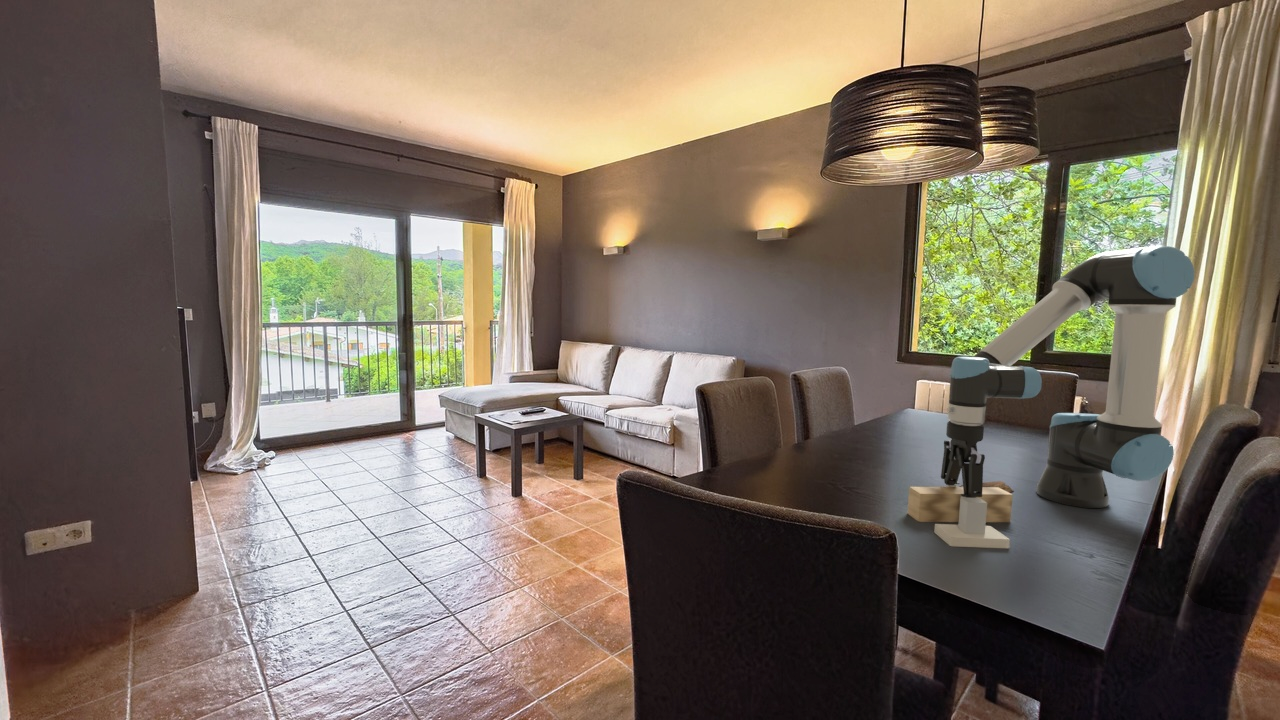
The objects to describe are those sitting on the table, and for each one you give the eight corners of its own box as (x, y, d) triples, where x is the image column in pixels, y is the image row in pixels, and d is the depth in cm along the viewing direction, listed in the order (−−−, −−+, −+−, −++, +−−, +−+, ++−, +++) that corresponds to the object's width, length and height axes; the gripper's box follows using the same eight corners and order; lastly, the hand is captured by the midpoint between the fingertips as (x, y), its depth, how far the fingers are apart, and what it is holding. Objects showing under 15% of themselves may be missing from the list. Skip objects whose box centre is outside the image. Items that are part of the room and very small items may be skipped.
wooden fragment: (984, 507, 139) (984, 503, 139) (940, 494, 148) (940, 490, 148) (1027, 489, 154) (1028, 485, 153) (985, 479, 163) (985, 475, 162)
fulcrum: (989, 534, 121) (992, 495, 121) (1009, 548, 115) (1012, 507, 114) (934, 532, 122) (937, 493, 121) (950, 546, 115) (953, 505, 114)
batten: (995, 515, 134) (998, 487, 133) (1010, 523, 129) (1012, 494, 128) (907, 514, 133) (909, 486, 133) (918, 522, 128) (920, 493, 128)
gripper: (929, 413, 139) (923, 501, 141) (971, 431, 119) (963, 532, 122) (960, 414, 138) (953, 502, 140) (1007, 432, 119) (998, 534, 121)
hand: (957, 516), depth 131 cm, fingers open, 6 cm apart
